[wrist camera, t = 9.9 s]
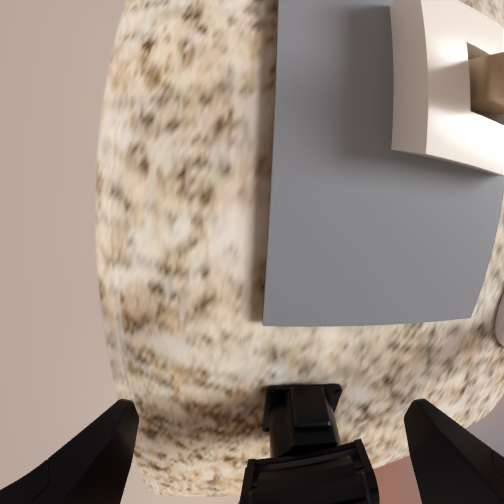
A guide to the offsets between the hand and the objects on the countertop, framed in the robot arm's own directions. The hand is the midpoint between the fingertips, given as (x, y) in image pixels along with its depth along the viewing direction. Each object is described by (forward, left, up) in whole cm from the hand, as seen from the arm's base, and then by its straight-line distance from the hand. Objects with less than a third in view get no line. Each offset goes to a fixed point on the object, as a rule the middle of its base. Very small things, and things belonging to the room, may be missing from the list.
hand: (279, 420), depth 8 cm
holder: (+13, -12, -11) cm, 21 cm away
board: (+8, -9, -12) cm, 17 cm away
